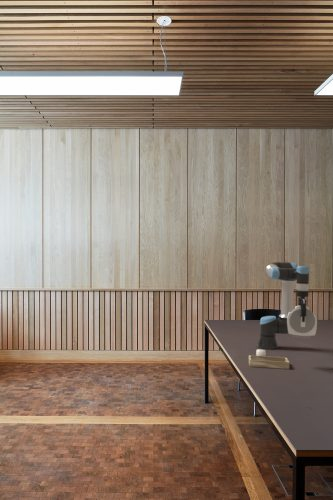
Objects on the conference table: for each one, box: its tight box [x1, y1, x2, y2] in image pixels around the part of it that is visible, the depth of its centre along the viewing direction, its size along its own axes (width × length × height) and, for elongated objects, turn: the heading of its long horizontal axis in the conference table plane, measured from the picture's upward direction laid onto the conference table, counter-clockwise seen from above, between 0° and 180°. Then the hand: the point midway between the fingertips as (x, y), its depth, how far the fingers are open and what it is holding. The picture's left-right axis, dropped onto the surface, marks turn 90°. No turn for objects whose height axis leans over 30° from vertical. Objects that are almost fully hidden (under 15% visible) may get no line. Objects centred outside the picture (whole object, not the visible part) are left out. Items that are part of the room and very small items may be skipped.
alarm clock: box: [287, 304, 318, 340], centre depth 273 cm, size 18×8×20 cm, turn 75°
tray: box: [248, 354, 290, 370], centre depth 272 cm, size 13×24×4 cm, turn 82°
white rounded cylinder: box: [255, 348, 267, 356], centre depth 282 cm, size 6×6×7 cm
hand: (301, 325), depth 273 cm, fingers closed on alarm clock, 9 cm apart
